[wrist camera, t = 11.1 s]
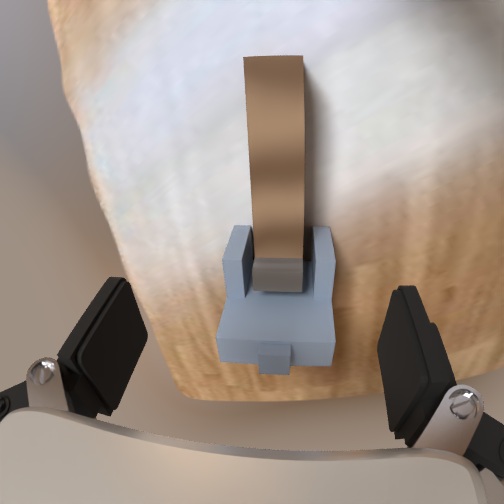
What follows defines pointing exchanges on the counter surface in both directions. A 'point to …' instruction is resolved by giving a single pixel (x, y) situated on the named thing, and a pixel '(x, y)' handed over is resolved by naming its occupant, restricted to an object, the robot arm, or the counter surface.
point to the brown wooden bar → (276, 169)
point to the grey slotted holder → (277, 310)
